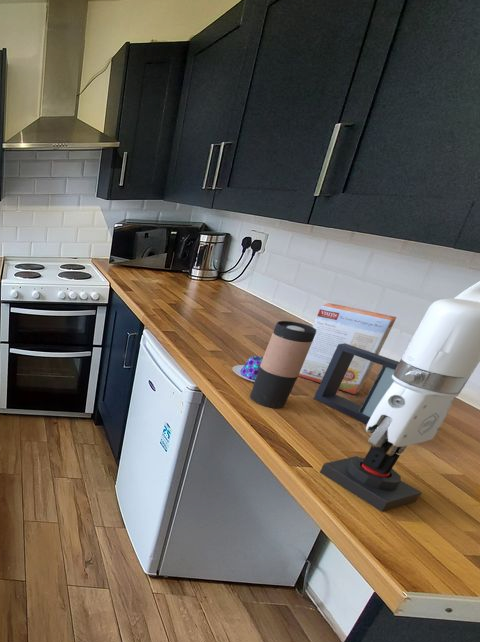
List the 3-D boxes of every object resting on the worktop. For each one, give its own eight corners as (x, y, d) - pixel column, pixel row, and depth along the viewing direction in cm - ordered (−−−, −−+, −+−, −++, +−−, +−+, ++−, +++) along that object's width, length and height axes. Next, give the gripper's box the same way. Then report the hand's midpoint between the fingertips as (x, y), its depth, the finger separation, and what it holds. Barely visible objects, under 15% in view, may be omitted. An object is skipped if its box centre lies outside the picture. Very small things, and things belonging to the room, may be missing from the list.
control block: (416, 502, 70) (427, 484, 68) (381, 512, 67) (393, 494, 65) (351, 464, 78) (360, 448, 77) (319, 472, 76) (327, 455, 74)
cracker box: (361, 390, 107) (398, 316, 99) (354, 395, 104) (392, 320, 96) (300, 369, 118) (329, 301, 109) (291, 374, 115) (321, 304, 106)
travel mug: (242, 392, 104) (268, 319, 95) (271, 394, 103) (301, 321, 95) (260, 408, 97) (291, 331, 88) (292, 410, 97) (326, 333, 88)
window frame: (414, 437, 88) (451, 376, 82) (399, 440, 86) (436, 378, 80) (327, 396, 103) (352, 342, 97) (313, 398, 102) (338, 344, 96)
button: (390, 481, 71) (395, 473, 70) (376, 485, 70) (381, 477, 69) (366, 467, 74) (371, 460, 73) (353, 471, 73) (357, 463, 72)
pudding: (223, 372, 114) (229, 356, 112) (244, 364, 120) (249, 348, 118) (270, 391, 105) (277, 373, 103) (290, 380, 111) (297, 363, 109)
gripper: (429, 394, 58) (371, 491, 66) (489, 383, 62) (428, 475, 70) (369, 371, 65) (323, 461, 72) (427, 362, 69) (378, 449, 76)
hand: (375, 468), depth 71 cm, fingers closed
